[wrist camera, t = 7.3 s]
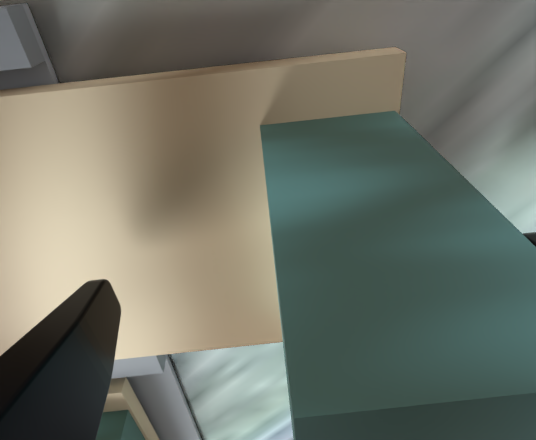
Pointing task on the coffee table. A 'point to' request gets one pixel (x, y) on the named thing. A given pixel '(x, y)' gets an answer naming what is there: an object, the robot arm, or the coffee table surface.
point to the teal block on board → (277, 239)
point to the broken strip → (127, 400)
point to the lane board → (134, 369)
